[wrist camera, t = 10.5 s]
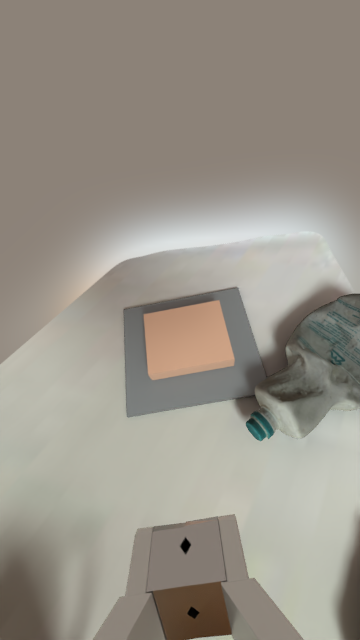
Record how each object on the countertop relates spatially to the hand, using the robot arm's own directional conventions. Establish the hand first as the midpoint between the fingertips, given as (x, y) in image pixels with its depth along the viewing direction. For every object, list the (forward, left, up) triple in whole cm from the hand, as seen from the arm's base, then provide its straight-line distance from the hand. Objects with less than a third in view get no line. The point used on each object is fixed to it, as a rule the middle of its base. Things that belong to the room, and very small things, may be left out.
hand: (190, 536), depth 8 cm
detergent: (+17, +12, -28) cm, 34 cm away
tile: (0, +15, -25) cm, 29 cm away
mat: (0, +19, -27) cm, 33 cm away
